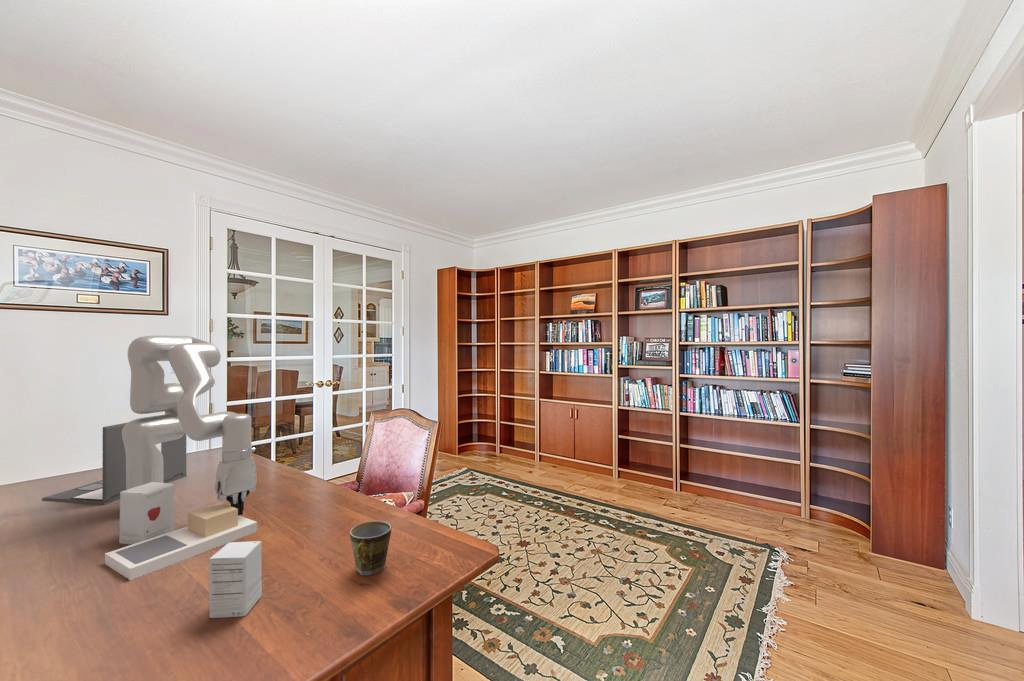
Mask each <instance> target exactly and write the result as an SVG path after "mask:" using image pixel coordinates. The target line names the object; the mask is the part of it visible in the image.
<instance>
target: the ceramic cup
mask: <svg viewBox="0 0 1024 681" xmlns="http://www.w3.org/2000/svg"><path fill="white" fill-rule="evenodd" d="M391 534H392V525H391V523H389V522H387V521H384V520H370V521H366V522H362V523H359V524H357V525H355V526H353V527H352V528H351V529H350V531H349V537H350V543H351V548H352V551H353V558H354V563H355V568H356V571H357V573H359V574H360V575H361V576H373V575H375V574H378V573H380V572H382V570H383V569H384V567H385V566H386V562H387V556H388V550H389V544H390V540H391V536H392V535H391Z"/></svg>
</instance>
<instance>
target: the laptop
mask: <svg viewBox="0 0 1024 681" xmlns="http://www.w3.org/2000/svg"><path fill="white" fill-rule="evenodd" d="M127 423H128V422H122V423H118V424H111V425H107V426H106V425H105V426H103V427H102V480H98V481H96V482H92V483H88V484H85V485H84V484H83V485H82V486H78V487H74V488H71V489H68V490H64V491H62V492H61V491H60V492H58V493H54V494H51V495H48V496H44V497H42V498H41V501H43V502H55V503H57V502H59V503H71V504H82V505H83V504H85V505H97V506H98V505H99V506H106V505H109V504H111V503H115V502H117V500H118V501H120V492H122V491H125V490H126V453H125V447H124V443H123V439H122V429H123V427H124V426H125V425H126V424H127ZM155 446H156V447H157V449H158V450H159V451H160V452H161V453H162V455H163V466H164V468H163V483H172V482H174V481H178V480H181V479H183V478H186V477H187V434H186V433H185V434H184V435H183V436H182V437H181V438H179V439H176V440H172V441H168V442H163V443H159V444H156V445H155ZM114 501H115V502H114Z"/></svg>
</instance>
